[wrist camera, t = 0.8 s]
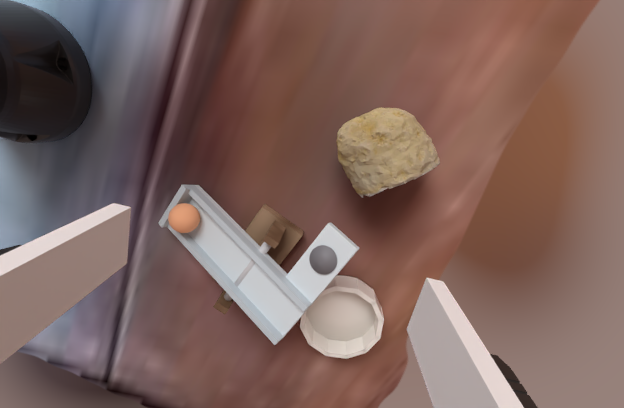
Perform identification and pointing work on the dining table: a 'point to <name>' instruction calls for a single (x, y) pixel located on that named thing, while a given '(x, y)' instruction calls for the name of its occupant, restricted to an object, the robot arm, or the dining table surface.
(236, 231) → the lever
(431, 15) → the dining table surface
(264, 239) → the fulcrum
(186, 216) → the ball
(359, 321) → the bowl
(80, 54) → the robot arm
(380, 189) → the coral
